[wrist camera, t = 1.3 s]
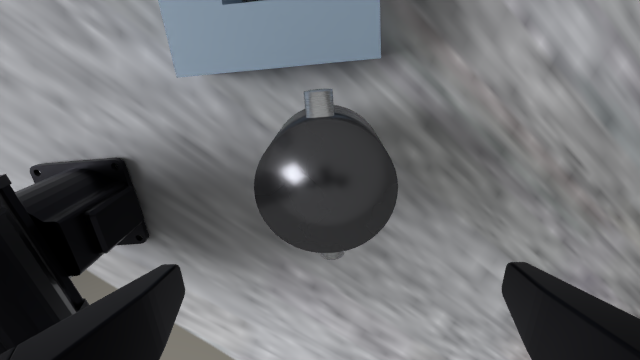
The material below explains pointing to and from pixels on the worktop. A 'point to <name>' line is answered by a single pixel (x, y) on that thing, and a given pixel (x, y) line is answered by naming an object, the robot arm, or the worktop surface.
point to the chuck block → (268, 33)
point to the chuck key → (326, 179)
